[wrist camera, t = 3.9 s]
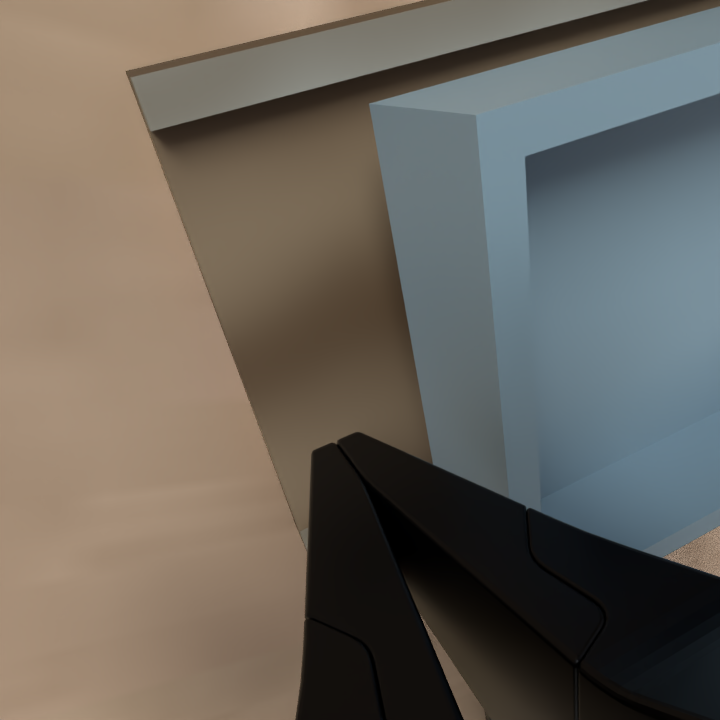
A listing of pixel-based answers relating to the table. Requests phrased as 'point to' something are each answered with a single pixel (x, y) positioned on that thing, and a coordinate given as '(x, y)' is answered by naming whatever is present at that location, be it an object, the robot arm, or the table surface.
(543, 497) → the cart
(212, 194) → the track
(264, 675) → the table surface
